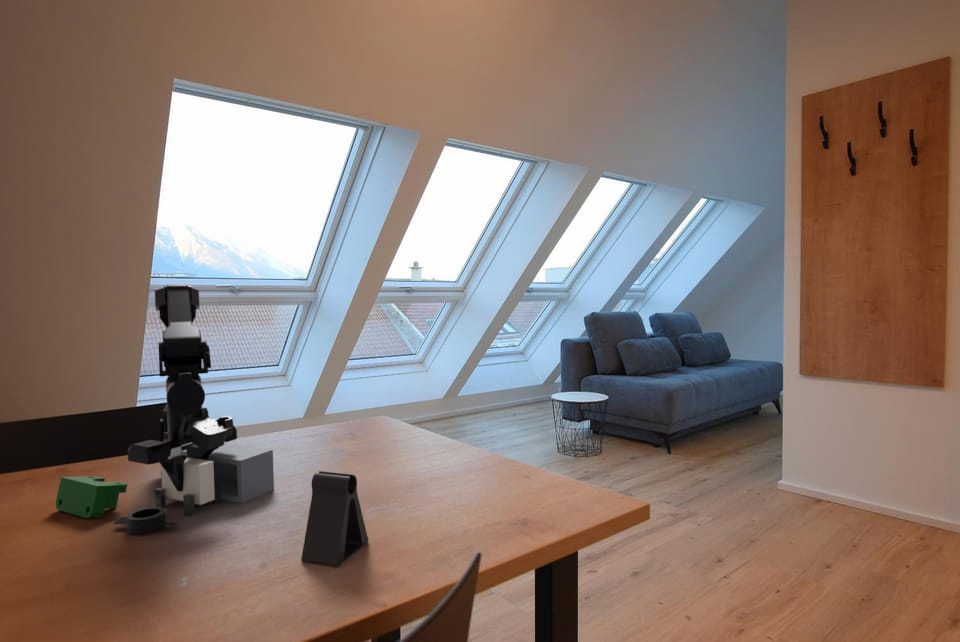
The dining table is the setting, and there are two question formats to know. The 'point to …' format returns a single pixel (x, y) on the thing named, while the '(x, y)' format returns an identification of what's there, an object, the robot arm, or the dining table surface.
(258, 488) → the cabinet
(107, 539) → the dining table surface
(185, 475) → the white block
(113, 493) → the clamp
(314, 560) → the phone stand
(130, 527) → the dark grey tabbed ring
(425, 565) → the dining table surface
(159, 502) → the clip brackets
